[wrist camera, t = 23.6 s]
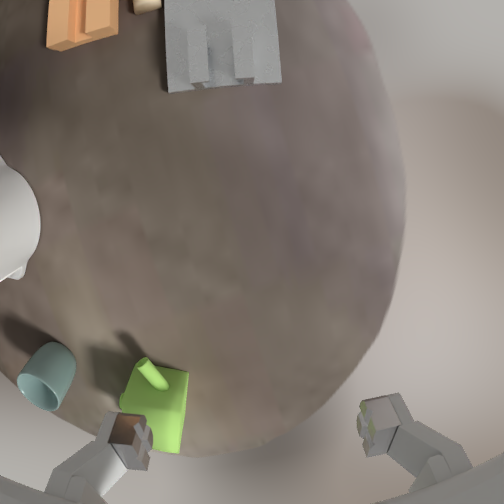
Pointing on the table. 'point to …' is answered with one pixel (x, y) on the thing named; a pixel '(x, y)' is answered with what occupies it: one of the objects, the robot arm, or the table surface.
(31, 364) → the cup
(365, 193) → the table surface
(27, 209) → the robot arm
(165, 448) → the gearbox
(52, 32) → the orange grooved block
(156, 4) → the axle
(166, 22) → the block
